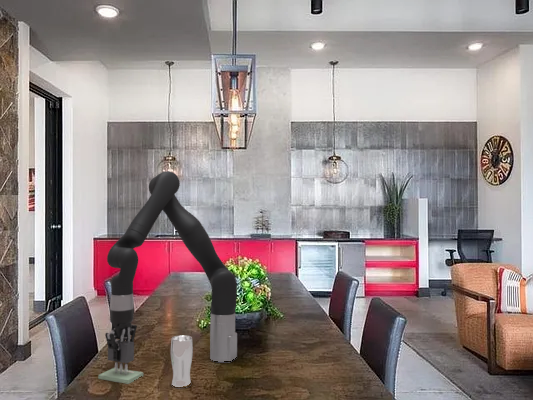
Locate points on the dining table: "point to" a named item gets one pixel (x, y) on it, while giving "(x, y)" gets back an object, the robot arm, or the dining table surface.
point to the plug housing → (123, 352)
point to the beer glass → (181, 359)
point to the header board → (120, 374)
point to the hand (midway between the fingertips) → (121, 358)
